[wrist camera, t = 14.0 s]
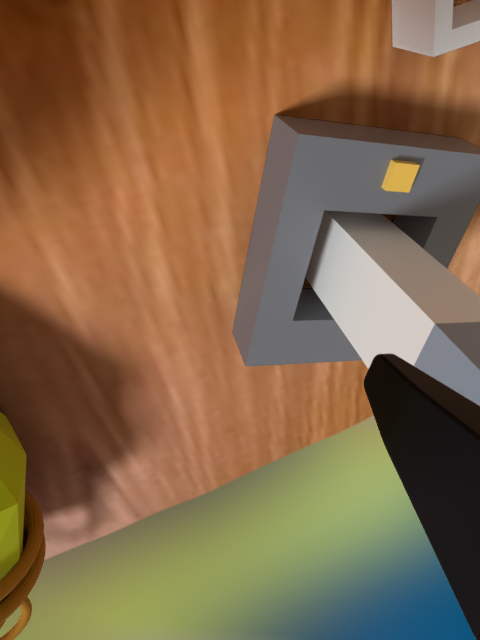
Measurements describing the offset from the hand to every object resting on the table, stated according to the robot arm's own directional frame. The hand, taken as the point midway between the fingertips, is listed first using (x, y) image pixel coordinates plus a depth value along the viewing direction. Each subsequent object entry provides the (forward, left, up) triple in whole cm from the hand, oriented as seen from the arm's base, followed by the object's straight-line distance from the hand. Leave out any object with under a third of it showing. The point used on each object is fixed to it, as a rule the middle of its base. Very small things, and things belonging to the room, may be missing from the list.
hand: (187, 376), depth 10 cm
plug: (+11, +2, -13) cm, 17 cm away
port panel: (+11, +2, -13) cm, 17 cm away
